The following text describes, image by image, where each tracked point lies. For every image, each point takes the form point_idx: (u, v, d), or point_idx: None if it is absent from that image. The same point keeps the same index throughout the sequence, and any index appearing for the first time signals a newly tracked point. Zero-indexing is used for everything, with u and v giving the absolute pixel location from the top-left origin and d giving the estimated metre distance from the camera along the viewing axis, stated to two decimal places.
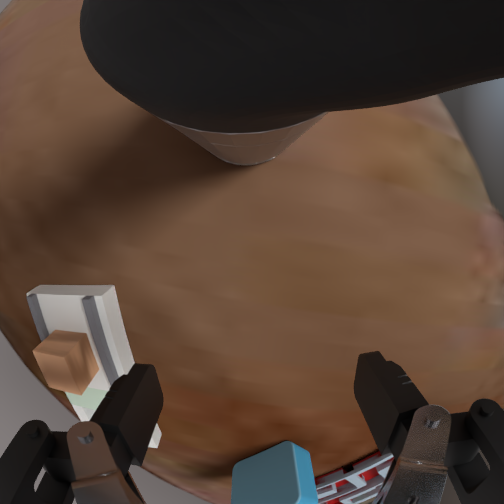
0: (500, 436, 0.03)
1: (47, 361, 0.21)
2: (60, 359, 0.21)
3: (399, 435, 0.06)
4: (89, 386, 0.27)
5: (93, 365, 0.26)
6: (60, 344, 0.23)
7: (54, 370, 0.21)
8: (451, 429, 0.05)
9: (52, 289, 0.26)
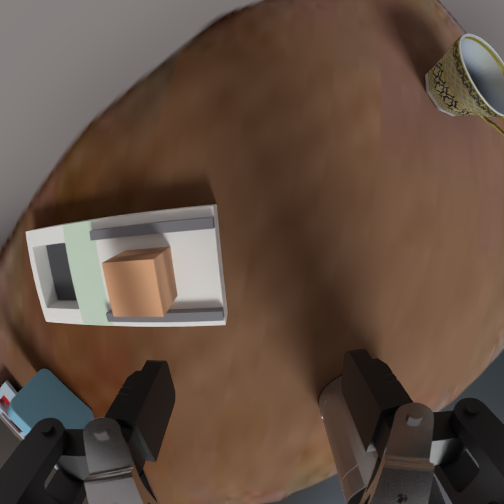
0: (487, 435, 0.04)
1: (146, 283, 0.22)
2: (158, 309, 0.22)
3: (382, 432, 0.06)
4: (102, 271, 0.27)
5: None
6: (166, 286, 0.24)
7: (136, 290, 0.22)
8: (435, 428, 0.05)
9: (218, 241, 0.27)
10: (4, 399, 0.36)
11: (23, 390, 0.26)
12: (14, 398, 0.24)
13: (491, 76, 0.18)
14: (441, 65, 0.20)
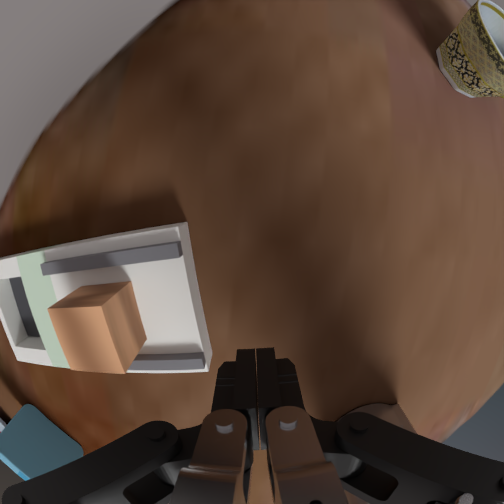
0: (391, 447, 0.05)
1: (98, 335, 0.15)
2: (117, 365, 0.16)
3: None
4: None
5: None
6: (127, 333, 0.17)
7: (88, 342, 0.15)
8: None
9: (191, 271, 0.21)
10: None
11: (7, 429, 0.20)
12: None
13: None
14: (456, 35, 0.13)
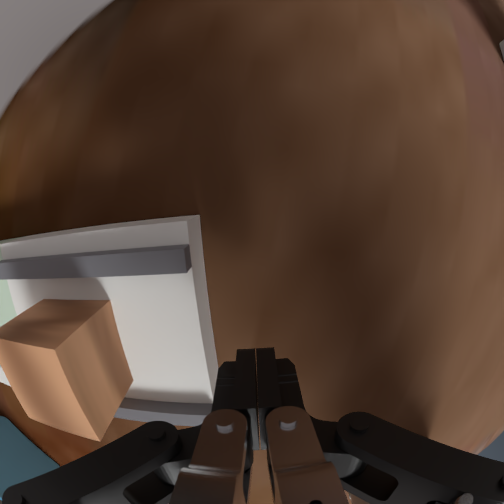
0: (391, 447, 0.05)
1: (55, 388, 0.08)
2: (87, 430, 0.08)
3: None
4: None
5: None
6: (102, 382, 0.10)
7: (44, 394, 0.08)
8: None
9: (201, 290, 0.14)
10: None
11: None
12: None
13: None
14: None
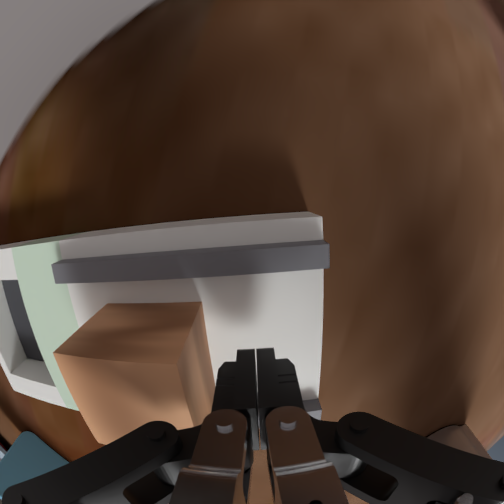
0: (391, 447, 0.05)
1: (160, 408, 0.08)
2: None
3: None
4: None
5: None
6: (202, 392, 0.10)
7: (137, 416, 0.08)
8: None
9: None
10: None
11: (3, 463, 0.12)
12: None
13: None
14: None
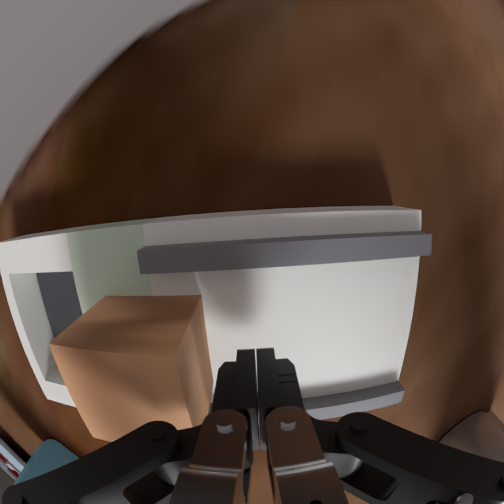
0: (391, 447, 0.05)
1: (157, 402, 0.08)
2: None
3: None
4: None
5: None
6: (200, 387, 0.10)
7: (134, 410, 0.08)
8: None
9: None
10: None
11: (26, 477, 0.12)
12: None
13: None
14: None
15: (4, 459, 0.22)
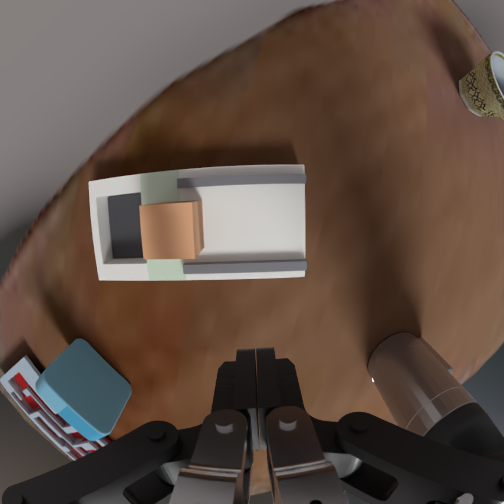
0: (391, 447, 0.05)
1: (181, 225, 0.24)
2: (190, 251, 0.24)
3: None
4: None
5: None
6: (198, 233, 0.26)
7: (170, 232, 0.24)
8: None
9: None
10: (16, 377, 0.39)
11: (58, 360, 0.28)
12: (47, 369, 0.26)
13: None
14: (474, 74, 0.22)
15: (20, 390, 0.38)
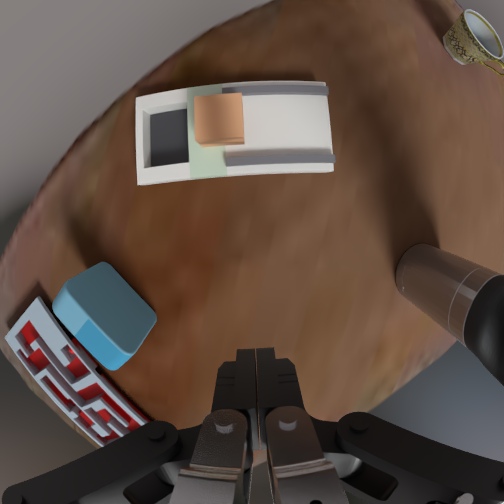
0: (391, 447, 0.05)
1: (232, 110, 0.26)
2: (239, 130, 0.26)
3: None
4: None
5: (211, 145, 0.31)
6: None
7: (222, 116, 0.26)
8: None
9: None
10: (24, 332, 0.41)
11: (81, 275, 0.30)
12: (70, 280, 0.28)
13: (486, 38, 0.22)
14: (453, 28, 0.24)
15: (27, 347, 0.40)
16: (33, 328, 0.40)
